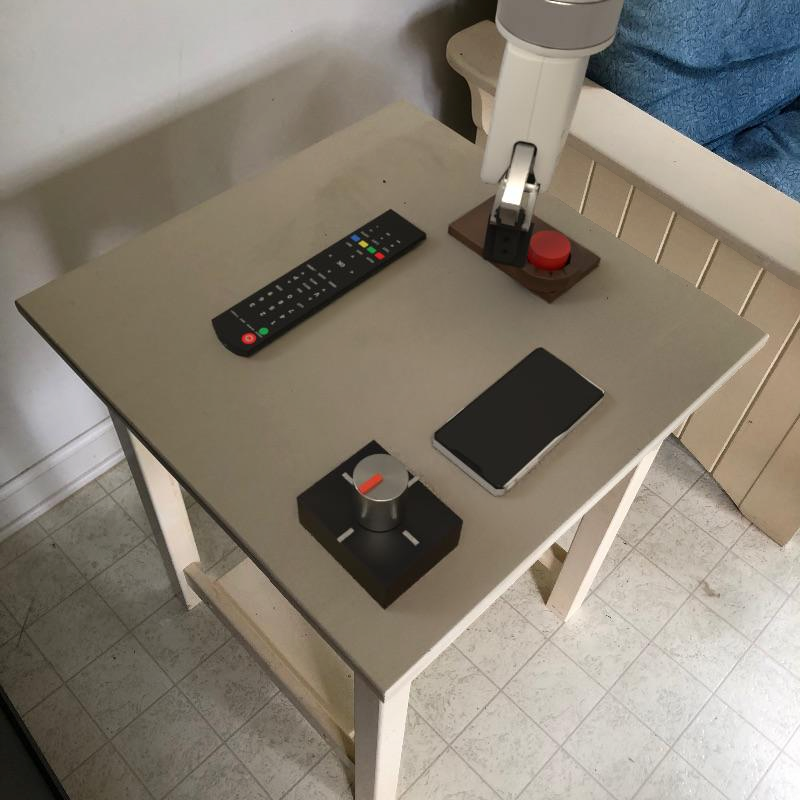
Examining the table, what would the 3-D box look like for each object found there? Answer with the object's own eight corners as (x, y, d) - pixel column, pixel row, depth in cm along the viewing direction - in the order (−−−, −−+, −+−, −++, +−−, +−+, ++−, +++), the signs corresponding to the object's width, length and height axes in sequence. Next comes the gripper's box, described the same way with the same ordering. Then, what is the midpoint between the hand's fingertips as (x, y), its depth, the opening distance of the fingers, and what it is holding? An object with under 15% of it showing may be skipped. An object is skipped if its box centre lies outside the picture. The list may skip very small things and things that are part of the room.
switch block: (602, 268, 85) (609, 246, 83) (547, 311, 81) (553, 289, 79) (497, 200, 91) (500, 178, 89) (441, 237, 87) (443, 215, 85)
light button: (575, 258, 82) (579, 245, 81) (550, 277, 80) (553, 264, 79) (544, 238, 84) (547, 224, 82) (518, 256, 82) (521, 243, 81)
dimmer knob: (381, 476, 64) (382, 441, 60) (416, 510, 62) (420, 476, 59) (342, 506, 62) (341, 472, 58) (377, 542, 61) (379, 509, 57)
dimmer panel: (459, 544, 65) (464, 518, 62) (383, 611, 62) (384, 587, 58) (373, 465, 69) (374, 437, 66) (298, 523, 66) (294, 496, 63)
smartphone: (609, 393, 74) (501, 493, 67) (605, 401, 75) (499, 501, 68) (538, 344, 77) (429, 434, 70) (536, 352, 78) (427, 442, 71)
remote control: (425, 243, 86) (426, 233, 85) (243, 364, 75) (242, 354, 74) (390, 218, 88) (390, 208, 87) (208, 332, 78) (206, 322, 77)
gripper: (525, -68, 56) (492, 146, 70) (467, 64, 46) (441, 284, 59) (636, -49, 55) (580, 164, 69) (601, 91, 45) (544, 309, 58)
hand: (516, 220), depth 64 cm, fingers open, 9 cm apart
